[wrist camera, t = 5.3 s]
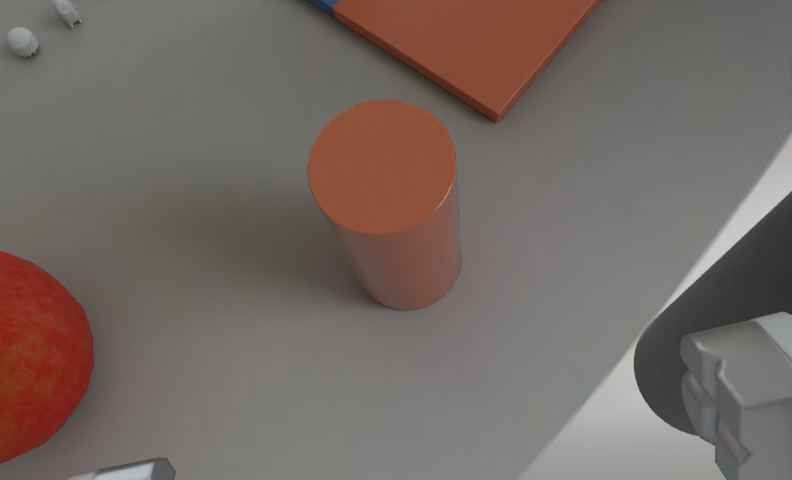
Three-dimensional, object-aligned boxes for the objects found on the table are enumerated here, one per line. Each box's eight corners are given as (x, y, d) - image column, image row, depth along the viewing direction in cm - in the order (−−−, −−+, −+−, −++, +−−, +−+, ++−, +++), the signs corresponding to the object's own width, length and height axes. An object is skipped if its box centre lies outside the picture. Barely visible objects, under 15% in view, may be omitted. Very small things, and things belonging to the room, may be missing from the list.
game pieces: (-17, 103, 42) (-40, 85, 40) (-33, 82, 42) (-55, 63, 41) (92, 25, 43) (75, 5, 41) (75, 6, 44) (58, -16, 42)
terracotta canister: (482, 249, 35) (486, 150, 25) (414, 332, 34) (389, 264, 24) (400, 189, 37) (372, 74, 27) (333, 267, 36) (276, 177, 25)
